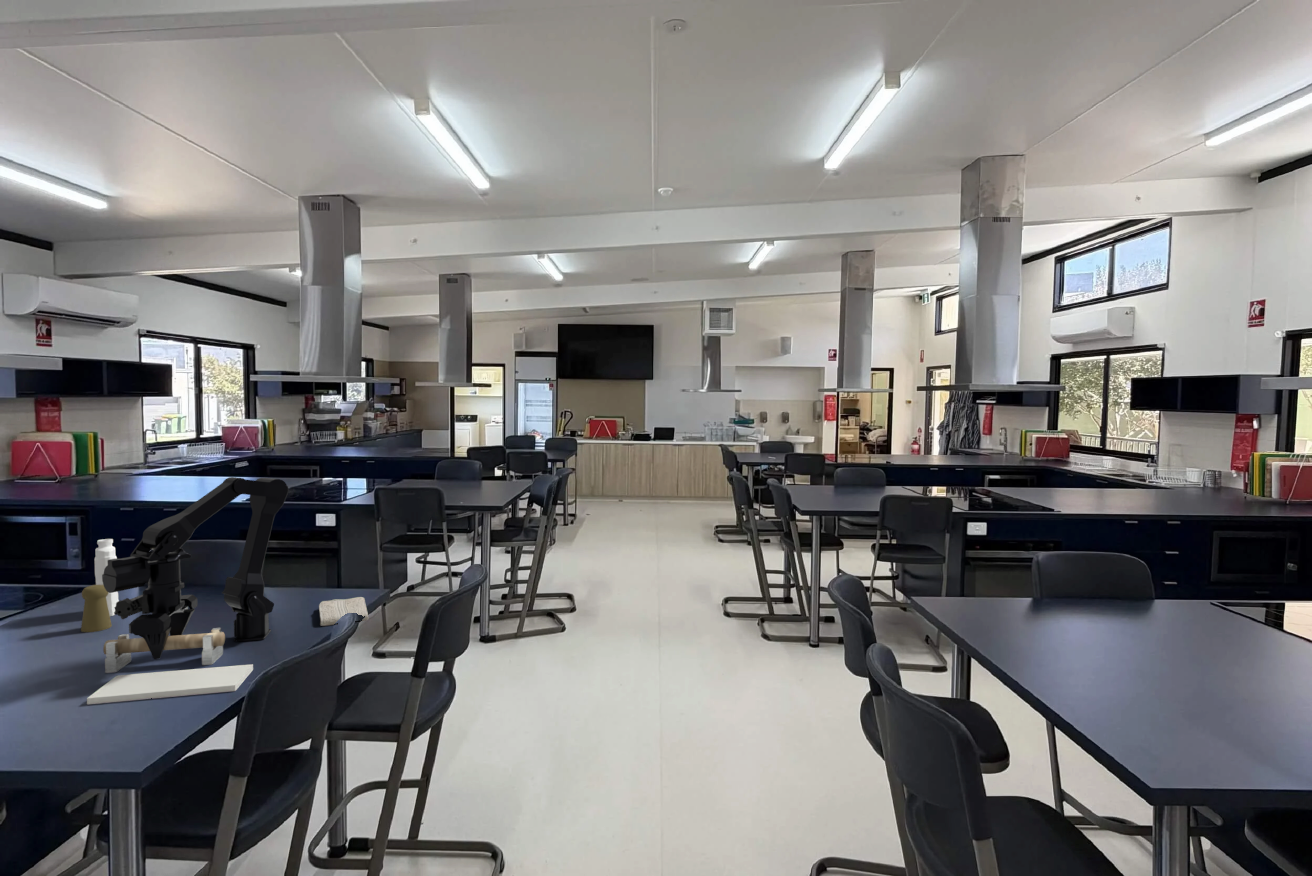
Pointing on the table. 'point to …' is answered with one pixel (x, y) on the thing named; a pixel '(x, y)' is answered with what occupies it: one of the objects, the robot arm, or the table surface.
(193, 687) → the cutting board
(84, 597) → the cork
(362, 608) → the washcloth
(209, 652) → the aluminium cradles
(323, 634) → the table surface
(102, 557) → the squeeze bottle
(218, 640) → the beech dowel
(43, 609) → the table surface
